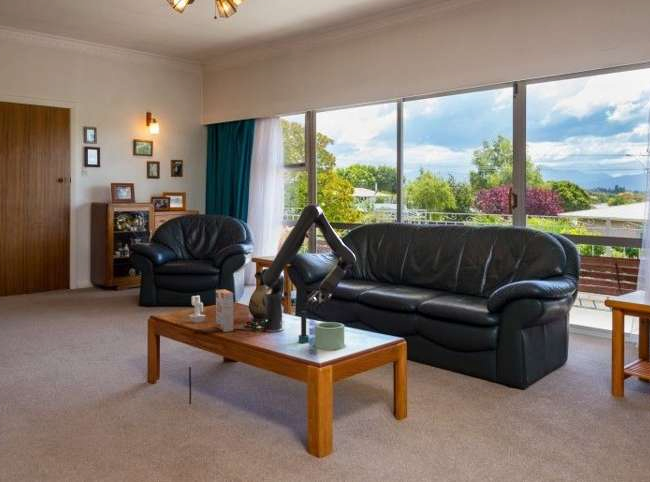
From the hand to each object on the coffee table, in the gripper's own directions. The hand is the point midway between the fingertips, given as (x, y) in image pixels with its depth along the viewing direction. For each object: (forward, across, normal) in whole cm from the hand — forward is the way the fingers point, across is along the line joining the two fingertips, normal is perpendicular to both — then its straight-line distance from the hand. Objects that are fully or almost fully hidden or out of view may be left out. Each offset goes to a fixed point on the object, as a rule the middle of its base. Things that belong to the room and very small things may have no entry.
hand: (310, 308), depth 280 cm
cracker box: (+29, -48, -6) cm, 56 cm away
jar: (+10, +14, +12) cm, 21 cm away
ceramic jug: (+7, -61, +15) cm, 63 cm away
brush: (+14, 0, +8) cm, 16 cm away
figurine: (+32, -76, -10) cm, 83 cm away
